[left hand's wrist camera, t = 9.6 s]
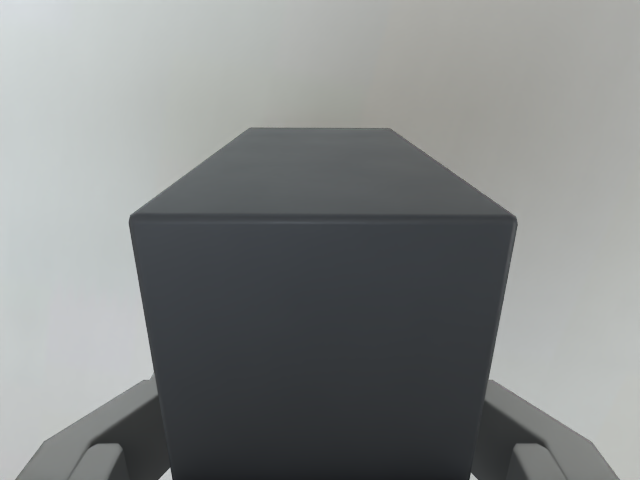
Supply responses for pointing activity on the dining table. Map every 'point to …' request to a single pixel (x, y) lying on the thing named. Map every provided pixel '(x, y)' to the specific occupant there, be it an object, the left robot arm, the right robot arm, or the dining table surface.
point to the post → (321, 308)
